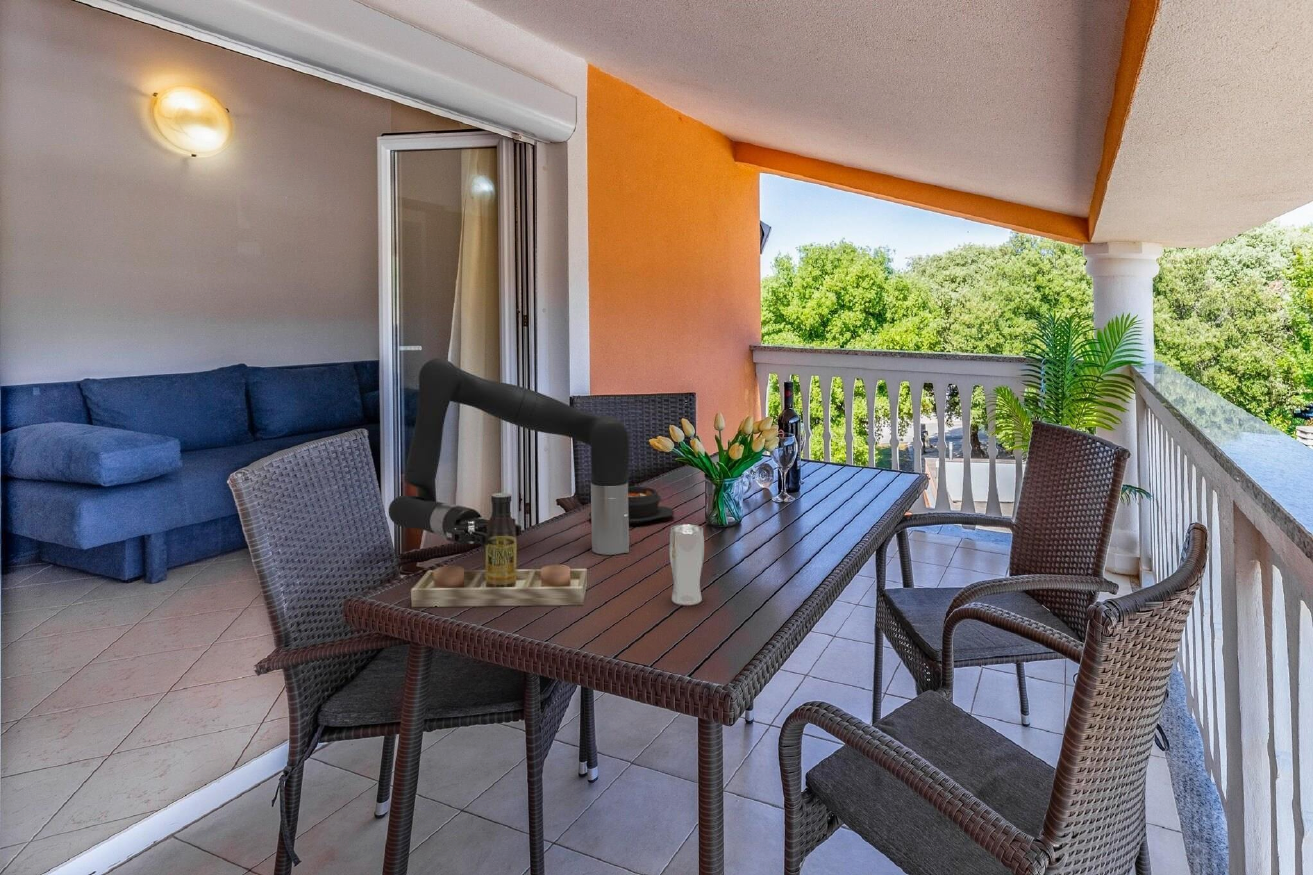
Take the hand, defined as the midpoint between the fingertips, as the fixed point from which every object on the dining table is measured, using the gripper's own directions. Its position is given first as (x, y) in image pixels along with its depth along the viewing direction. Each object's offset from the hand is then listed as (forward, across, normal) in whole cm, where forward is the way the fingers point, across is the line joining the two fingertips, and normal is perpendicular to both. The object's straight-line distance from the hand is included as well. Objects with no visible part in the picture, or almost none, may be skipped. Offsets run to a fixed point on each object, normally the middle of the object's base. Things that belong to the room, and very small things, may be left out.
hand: (504, 535), depth 148 cm
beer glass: (+31, +21, +13) cm, 40 cm away
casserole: (-20, +64, +13) cm, 68 cm away
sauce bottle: (-1, 0, +12) cm, 12 cm away
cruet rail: (-1, 0, +13) cm, 13 cm away
